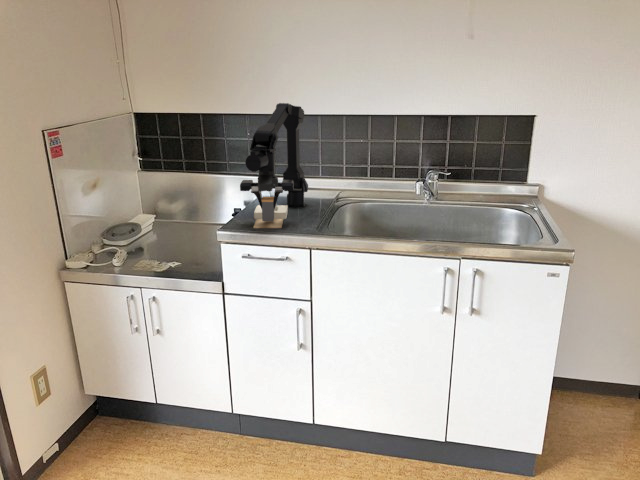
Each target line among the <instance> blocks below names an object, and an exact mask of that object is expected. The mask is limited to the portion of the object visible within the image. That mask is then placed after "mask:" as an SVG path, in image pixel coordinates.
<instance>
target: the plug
mask: <svg viewBox="0 0 640 480" xmlns="http://www.w3.org/2000/svg"><path fill="white" fill-rule="evenodd" d="M273 204H274V196H262V221H274V205H273Z"/></svg>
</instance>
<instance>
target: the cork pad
mask: <svg viewBox="0 0 640 480" xmlns="http://www.w3.org/2000/svg"><path fill="white" fill-rule="evenodd" d="M283 223H284V219H274V221H262V219H255V222H254V225H253V227H252V228H253V229H282V227H283Z"/></svg>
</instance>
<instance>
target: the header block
mask: <svg viewBox="0 0 640 480" xmlns="http://www.w3.org/2000/svg"><path fill="white" fill-rule="evenodd" d="M288 211H289V207H288V205H287V204H286V205H285V204H284V205H282V204H280V205H279V204H278V203H276V206H275V209H274V219H283V220H287V216H288V213H289V212H288ZM253 219H254V220H256V219H262V209H261V206H260V204H258V205H256V207H255V209H254V212H253Z"/></svg>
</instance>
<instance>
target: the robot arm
mask: <svg viewBox="0 0 640 480" xmlns="http://www.w3.org/2000/svg"><path fill="white" fill-rule="evenodd" d="M304 118H305V110H304V109H303V108H302V106H299V105H298V106H297V105H292V104H291V103H288V102H287V103H285V102H279V103H277V104H276V106H275V109H274V111H273V112H272V113H271V115H270V116H269V118H268V120H267V121H266V123H265V124H263V125H260V126H259V127H258V128H257V129H256V130H255V132H254V133H253V137H252V140H251V143H250V146H249V147H250V148H249V150H250V151H249V152H250V153H249V155H248V156H247V157H246V158H245V162H244V163H245V166H246V168H247V169H248V171H250V172H252V173H253V172H258V177H257V182H253V179H243V180H242V181H241V182H240V184H239V190H240V192H249V191H250V193H251V194H253V195H255V197H256V199H257V201H258V203H259V204H258V205H260V206H261V209H262V198H263V194H262V192H272V191H273V189H275V190H274V193H273V194H274V196H273V197H274V204H273V205H274V209H275V206H276V204H277V202H278V199H279V196H280V194H283V192H287V193H286V205H288V208H305V203H306V202H305V193H307V192H308V189H309V184H308V181H307V180H306V178H305V172H304V170H303V169H302V167H301V161H300V128H301V127H302V125H303V123H304ZM282 125H283V126H284V128H285V130H286V150H287V151H286V154H287V167H286V169H285V171H284V172H283V173H282V182H279V178H278V177H279V176H276V167H275V152H276V150H277V149H276V148H275V147H276V145H277V143H278V140H279V137H278V136H279V135H278V133H279V130H280V129H281V128H282Z"/></svg>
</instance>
